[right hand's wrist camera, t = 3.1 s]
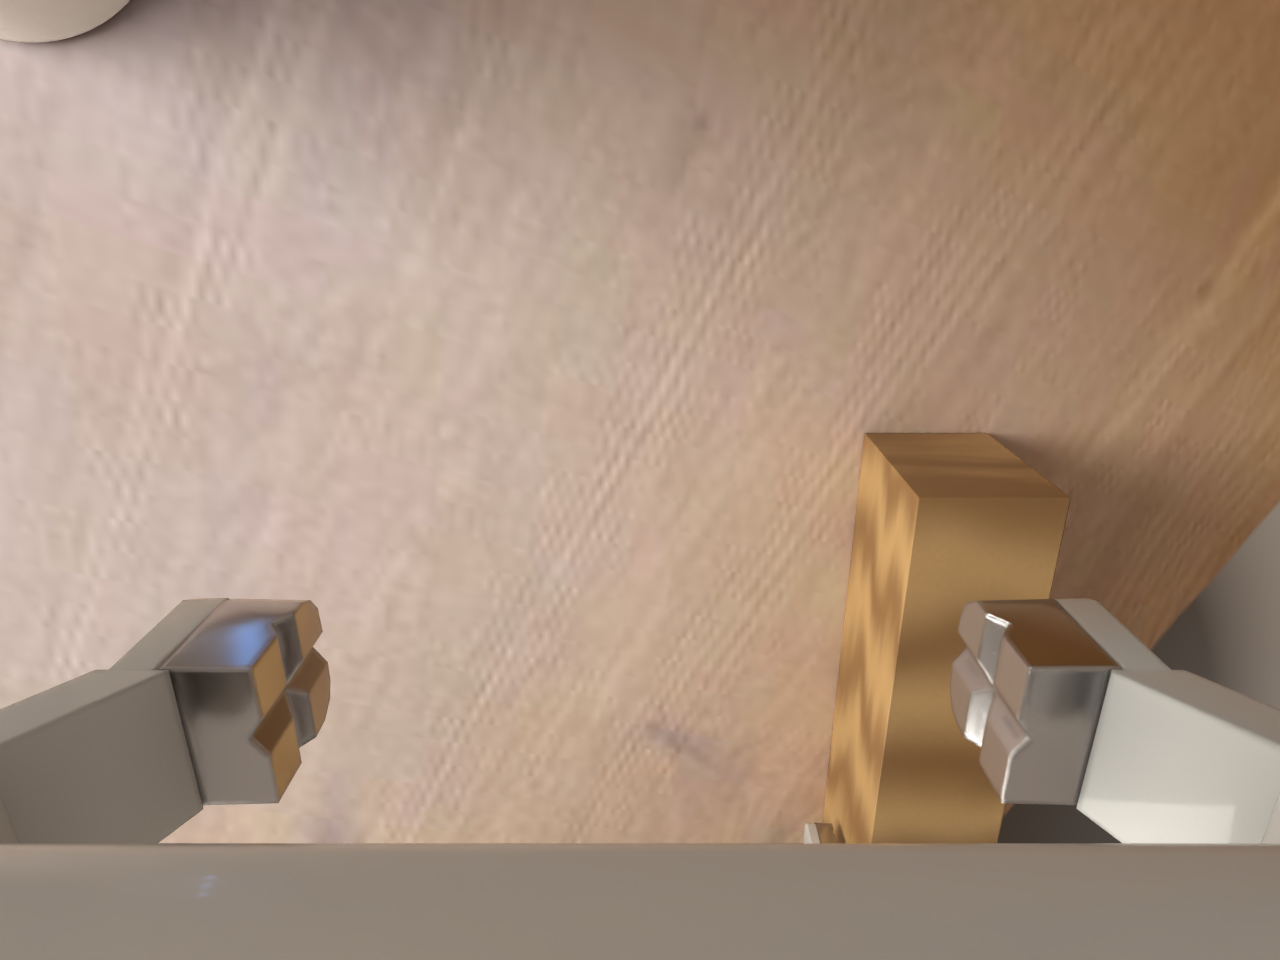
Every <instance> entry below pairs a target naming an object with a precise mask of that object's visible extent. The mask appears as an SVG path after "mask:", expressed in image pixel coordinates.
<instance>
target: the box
mask: <svg viewBox="0 0 1280 960" xmlns="http://www.w3.org/2000/svg"><path fill="white" fill-rule="evenodd" d="M1070 499H1071V498H1070V497H1069V496H1068V495H1066V494H1065V493H1064V492H1063V491H1061V490H1060V489H1059V488H1057V487H1056V486H1055V485H1054V484H1052V483H1051V482H1050V481H1048V480H1047V479H1046V478H1044V477H1043V476H1042V475H1041V474H1039V473H1038V472H1037V471H1035V470H1034V469H1033V468H1031V467H1030V466H1029V465H1028V464H1026V463H1025V462H1024V461H1022V460H1021V459H1020V458H1018V457H1017V456H1016V455H1015V454H1013V453H1012V452H1011V451H1009V450H1008V449H1007V448H1006V447H1004V446H1003V445H1002V444H1000V443H999V442H998V441H996V440H995V439H994V438H993V437H991V436H990V435H989V434H987V433H865V436H864V445H863V454H862V463H861V473H860V482H859V491H858V500H857V509H856V519H855V528H854V537H853V546H852V555H851V565H850V574H849V583H848V592H847V602H846V611H845V620H844V629H843V638H842V648H841V657H840V666H839V675H838V684H837V694H836V703H835V712H834V721H833V730H832V740H831V749H830V758H829V767H828V776H827V786H826V795H825V804H824V813H823V822H822V823H832V825H833V833H834V834H835V835H836V839H837V843H997V841H998V836H999V831H1000V827H1001V822H1002V817H1003V813H1004V808H1005V803H1002V802H1001V801H1000V799H999V797H998V795H997V794H996V792H995V790H994V789H993V787H992V785H991V783H990V782H989V780H988V778H987V776H986V775H985V773H984V771H983V770H982V768H981V766H980V764H979V763H978V762H979V757H980V751H981V748H980V747H979V746H977V745H976V744H974V743H973V742H971V741H969V740H968V739H966V738H965V737H964V736H963V734H962V732H961V731H960V729H959V727H958V725H957V723H956V720H955V717H954V714H953V711H952V708H951V698H950V687H949V684H950V676H951V669H952V662H953V661H954V660H955V659H956V658H957V657H958V656H959V655H960V654H961V653H962V652H963V651H964V650H965V649H966V648H967V646H966V644H965V642H964V641H963V639H962V638H961V636H960V635H959V633H958V632H957V631H958V626H959V620H960V615H961V612H962V610H963V608H964V606H965V604H966V602H971V601H987V600H1028V599H1049V597H1050V593H1051V588H1052V583H1053V578H1054V574H1055V569H1056V564H1057V560H1058V555H1059V550H1060V546H1061V541H1062V536H1063V532H1064V527H1065V522H1066V518H1067V513H1068V508H1069V504H1070Z"/></svg>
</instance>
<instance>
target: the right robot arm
mask: <svg viewBox="0 0 1280 960" xmlns="http://www.w3.org/2000/svg"><path fill="white" fill-rule="evenodd" d="M129 1H130V0H0V39H2V40H7V41H15V42H30V43H36V42H50V41H58V40H62V39H67V38H71V37H74V36H77V35H80V34H82V33H85V32H87V31H90V30H92V29H94V28H95V27H97V26H99V25H101V24H103V23H104V22H106V21H107V20H109V19H110V18H112V17H113V16H114V15H115V14H116V13H118V12H119V11H120V10H121V9H122V8H123V7H124V6H125V5H126V4H127V3H128V2H129ZM322 632H323V631H322V626H321V622H320V617H319V612H318V608H317V607H316V606H315V605H314V604H313V603H312V601H311V600H268V599H228V598H208V599H189V600H183V601H182V602H181V603H180V604H179V605H178V606H177V607H175V608H174V609H173V610H172V611H171V612H170V613H169V614H168V615H167V616H166V617H165V618H164V619H163V620H162V621H161V622H159V623H158V624H157V625H156V626H155V627H154V628H153V629H152V630H151V631H150V632H149V633H148V634H147V635H146V636H144V637H143V638H142V639H141V640H140V641H139V642H138V643H137V644H136V645H135V646H134V647H133V648H132V649H131V650H129V651H128V652H127V653H126V654H125V655H124V656H123V657H122V658H121V659H120V660H119V661H118V662H117V663H116V664H115V665H113V666H112V667H111V668H110V669H109V670H94V671H92V672H89V673H87V674H84V675H82V676H80V677H77V678H75V679H72V680H70V681H67V682H65V683H63V684H60V685H58V686H55V687H53V688H51V689H48V690H46V691H43V692H41V693H39V694H36V695H34V696H31V697H29V698H27V699H24V700H22V701H19V702H17V703H15V704H12V705H10V706H7V707H5V708H3V709H0V960H1280V709H1277V708H1275V707H1272V706H1270V705H1267V704H1265V703H1263V702H1260V701H1258V700H1256V699H1253V698H1251V697H1248V696H1246V695H1244V694H1241V693H1239V692H1236V691H1234V690H1232V689H1229V688H1227V687H1224V686H1222V685H1220V684H1217V683H1215V682H1212V681H1210V680H1208V679H1205V678H1203V677H1200V676H1198V675H1196V674H1193V673H1191V672H1188V671H1186V670H1171V669H1170V668H1169V667H1168V666H1167V665H1166V664H1165V663H1163V662H1162V661H1161V660H1160V659H1159V658H1158V657H1157V656H1156V655H1155V654H1154V653H1153V652H1152V651H1151V650H1150V649H1149V648H1147V647H1146V646H1145V645H1144V644H1143V643H1142V642H1141V641H1140V640H1139V639H1138V638H1137V637H1136V636H1135V635H1134V634H1133V633H1131V632H1130V631H1129V630H1128V629H1127V628H1126V627H1125V626H1124V625H1123V624H1122V623H1121V622H1120V621H1119V620H1118V619H1117V618H1115V617H1114V616H1113V615H1112V614H1111V613H1110V612H1109V611H1108V610H1107V609H1106V608H1105V607H1104V606H1103V605H1102V604H1101V603H1099V602H1098V601H1096V600H1093V599H1089V598H1071V599H1028V600H987V601H971V602H966V604H965V606H964V608H963V610H962V612H961V615H960V620H959V626H958V631H957V632H958V633H959V635H960V636H961V638H962V639H963V641H964V642H965V644H966V646H967V648H966V649H965V650H964V651H963V652H962V653H961V654H960V655H959V656H958V657H957V658H956V659H955V660H954V661H953V662H952V669H951V676H950V684H949V687H950V698H951V708H952V711H953V714H954V717H955V720H956V723H957V725H958V727H959V729H960V731H961V732H962V734H963V736H964V737H965V738H966V739H968V740H969V741H971V742H973V743H974V744H976V745H977V746H979V747H980V748H981V751H980V757H979V762H978V763H979V764H980V766H981V768H982V770H983V771H984V773H985V775H986V776H987V778H988V780H989V782H990V783H991V785H992V787H993V789H994V790H995V792H996V794H997V795H998V797H999V799H1000V801H1001V802H1002V803H1015V804H1053V805H1077V809H1078V810H1079V811H1081V812H1082V813H1083V814H1084V815H1086V816H1087V817H1088V818H1090V819H1091V820H1092V821H1094V822H1095V823H1096V824H1098V825H1099V826H1100V827H1102V828H1103V829H1104V830H1106V831H1107V832H1108V833H1109V834H1111V835H1112V836H1113V837H1115V838H1116V839H1117V840H1119V841H1120V842H1121V843H786V844H502V843H501V844H500V843H499V844H498V843H494V844H493V843H159V842H160V841H162V840H163V839H164V838H166V837H167V836H168V835H169V834H171V833H172V832H173V831H175V830H176V829H177V828H179V827H180V826H181V825H183V824H184V823H185V822H187V821H188V820H189V819H191V818H192V817H193V816H195V815H196V814H197V813H199V812H200V811H201V810H203V805H227V804H263V803H279V801H280V799H281V797H282V796H283V794H284V792H285V790H286V789H287V787H288V785H289V783H290V782H291V780H292V778H293V777H294V775H295V773H296V771H297V770H298V768H299V766H300V764H301V763H302V762H301V757H300V751H299V748H300V747H301V746H303V745H304V744H306V743H307V742H309V741H311V740H312V739H314V738H315V737H316V736H317V734H318V732H319V731H320V729H321V727H322V725H323V723H324V721H325V718H326V713H327V709H328V705H329V701H330V674H329V668H328V662H327V661H326V660H325V659H324V658H323V657H322V656H321V655H320V654H319V653H318V652H317V651H316V650H315V649H314V648H313V646H314V644H315V643H316V641H317V639H318V638H319V636H320V635H321V633H322Z"/></svg>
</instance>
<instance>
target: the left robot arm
mask: <svg viewBox="0 0 1280 960" xmlns="http://www.w3.org/2000/svg"><path fill="white" fill-rule="evenodd" d="M804 843H837V839H836V835H835V834H834V833H833V825H832V823H806V824H805V830H804ZM997 843H998V842H997Z"/></svg>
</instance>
